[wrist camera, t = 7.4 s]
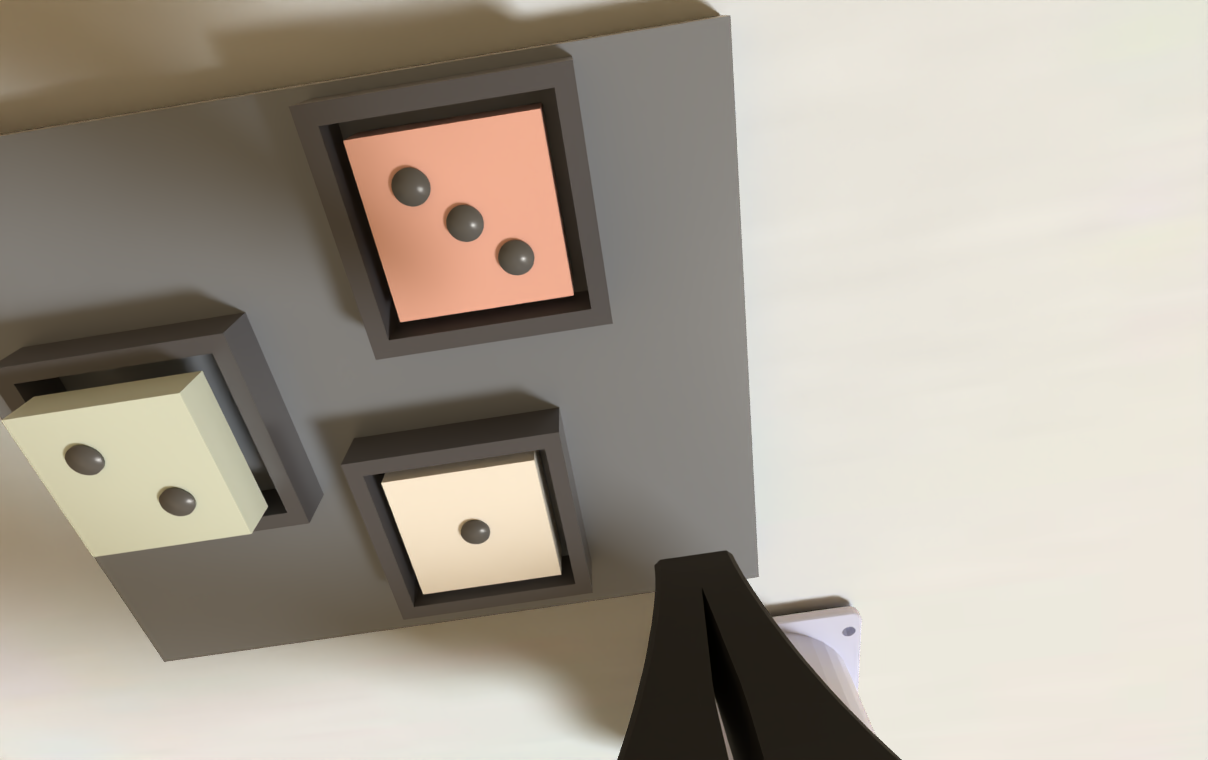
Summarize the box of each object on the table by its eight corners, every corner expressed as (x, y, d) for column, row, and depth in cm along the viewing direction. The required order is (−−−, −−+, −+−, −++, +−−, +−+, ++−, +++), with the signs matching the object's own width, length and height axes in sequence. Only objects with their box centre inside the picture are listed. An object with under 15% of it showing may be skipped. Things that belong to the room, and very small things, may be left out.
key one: (561, 549, 23) (561, 576, 22) (429, 568, 24) (422, 596, 22) (535, 437, 21) (534, 462, 20) (390, 459, 21) (380, 485, 20)
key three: (573, 279, 19) (573, 296, 18) (409, 305, 19) (399, 323, 18) (542, 102, 17) (540, 108, 16) (356, 132, 17) (342, 141, 16)
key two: (268, 506, 20) (249, 536, 19) (117, 528, 20) (90, 559, 19) (201, 370, 18) (177, 394, 17) (33, 396, 18) (-2, 422, 17)
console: (752, 557, 25) (768, 606, 23) (177, 639, 26) (143, 695, 24) (722, 15, 17) (743, 16, 15) (-133, 156, 18) (-229, 176, 15)
